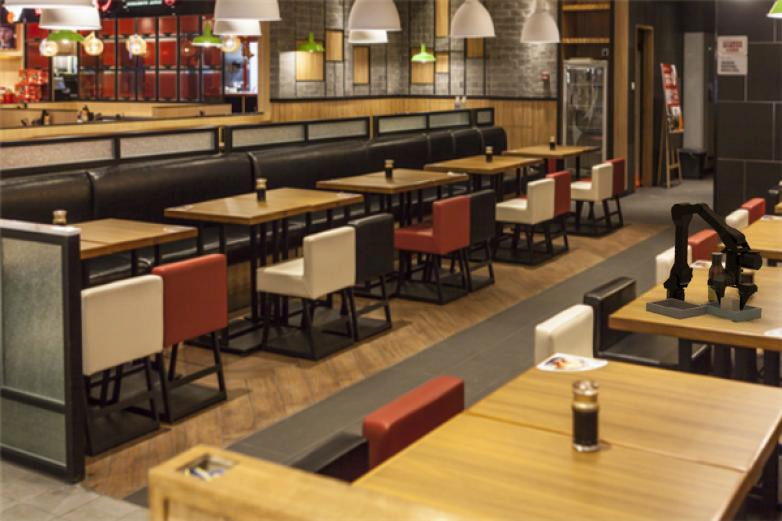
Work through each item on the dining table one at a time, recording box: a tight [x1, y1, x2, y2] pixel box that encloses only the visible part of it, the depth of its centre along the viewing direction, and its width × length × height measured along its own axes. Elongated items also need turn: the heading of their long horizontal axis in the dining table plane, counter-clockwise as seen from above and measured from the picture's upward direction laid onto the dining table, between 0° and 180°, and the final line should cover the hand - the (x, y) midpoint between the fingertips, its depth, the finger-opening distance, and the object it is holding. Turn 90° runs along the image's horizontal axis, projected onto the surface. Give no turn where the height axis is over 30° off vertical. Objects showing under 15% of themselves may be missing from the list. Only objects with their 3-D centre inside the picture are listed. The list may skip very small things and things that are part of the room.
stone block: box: [721, 295, 740, 312], centre depth 374 cm, size 5×5×6 cm
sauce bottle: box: [707, 252, 726, 303], centre depth 393 cm, size 7×6×20 cm
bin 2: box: [700, 301, 763, 323], centre depth 374 cm, size 17×14×4 cm
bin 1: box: [645, 298, 706, 320], centre depth 377 cm, size 17×14×4 cm
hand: (730, 307), depth 374 cm, fingers open, 9 cm apart
